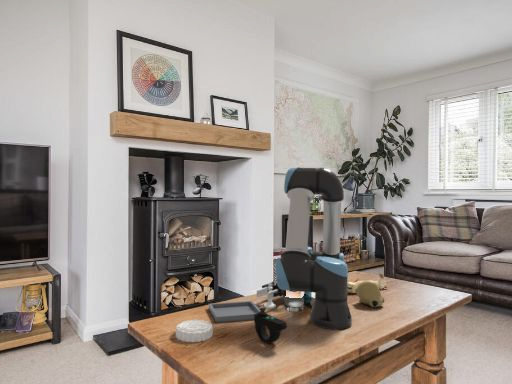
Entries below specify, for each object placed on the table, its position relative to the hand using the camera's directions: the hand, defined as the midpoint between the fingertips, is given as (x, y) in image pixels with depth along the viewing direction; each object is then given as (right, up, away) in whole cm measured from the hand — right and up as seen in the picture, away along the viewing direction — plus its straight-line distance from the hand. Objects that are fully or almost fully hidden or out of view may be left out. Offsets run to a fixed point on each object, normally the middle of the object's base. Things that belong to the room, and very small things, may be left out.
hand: (262, 294), depth 147 cm
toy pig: (+46, -7, +10) cm, 48 cm away
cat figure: (+50, -8, +33) cm, 61 cm away
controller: (+1, -6, -32) cm, 32 cm away
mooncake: (-23, -6, -27) cm, 36 cm away
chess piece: (+3, -6, +4) cm, 8 cm away
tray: (-11, -6, -5) cm, 13 cm away
